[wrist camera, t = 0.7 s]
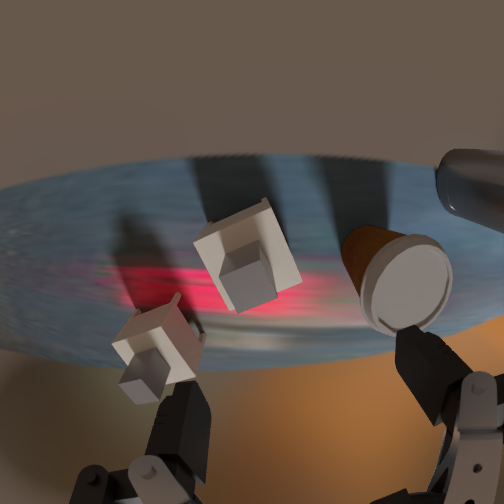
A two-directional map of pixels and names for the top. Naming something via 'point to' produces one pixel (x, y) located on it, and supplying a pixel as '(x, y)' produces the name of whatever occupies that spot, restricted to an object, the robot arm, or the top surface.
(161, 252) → the top surface
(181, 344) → the cover
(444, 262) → the disposable coffee cup
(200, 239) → the cover
